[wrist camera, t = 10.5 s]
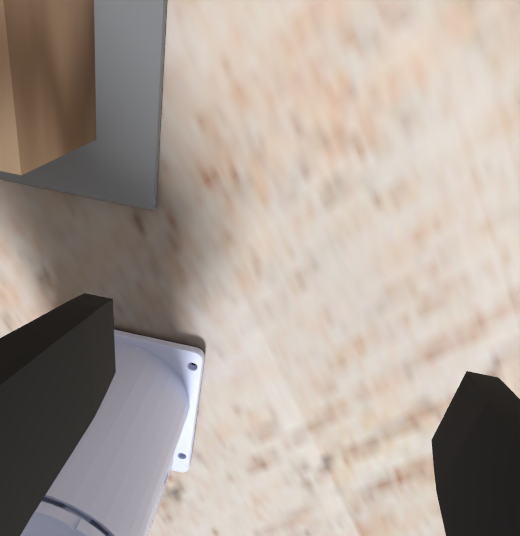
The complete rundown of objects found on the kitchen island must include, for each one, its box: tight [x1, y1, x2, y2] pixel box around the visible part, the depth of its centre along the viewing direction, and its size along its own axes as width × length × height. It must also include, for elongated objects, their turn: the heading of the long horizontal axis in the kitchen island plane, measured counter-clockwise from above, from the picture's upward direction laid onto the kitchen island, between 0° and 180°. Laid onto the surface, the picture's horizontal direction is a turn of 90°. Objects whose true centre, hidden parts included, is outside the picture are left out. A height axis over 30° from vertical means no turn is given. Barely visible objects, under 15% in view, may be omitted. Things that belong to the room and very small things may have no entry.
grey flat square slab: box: [0, 0, 167, 211], centre depth 17 cm, size 10×10×1 cm
